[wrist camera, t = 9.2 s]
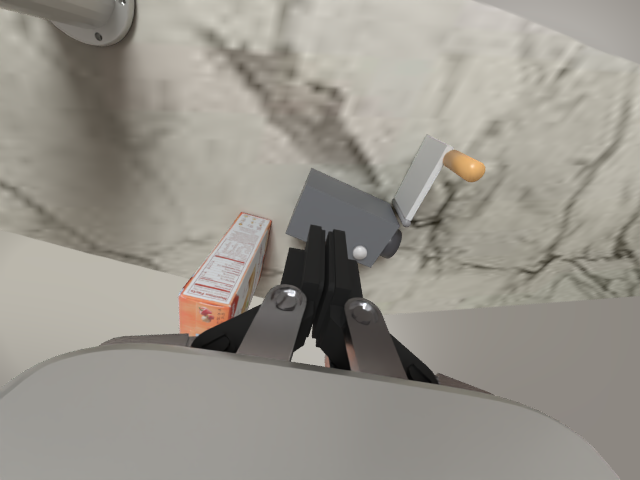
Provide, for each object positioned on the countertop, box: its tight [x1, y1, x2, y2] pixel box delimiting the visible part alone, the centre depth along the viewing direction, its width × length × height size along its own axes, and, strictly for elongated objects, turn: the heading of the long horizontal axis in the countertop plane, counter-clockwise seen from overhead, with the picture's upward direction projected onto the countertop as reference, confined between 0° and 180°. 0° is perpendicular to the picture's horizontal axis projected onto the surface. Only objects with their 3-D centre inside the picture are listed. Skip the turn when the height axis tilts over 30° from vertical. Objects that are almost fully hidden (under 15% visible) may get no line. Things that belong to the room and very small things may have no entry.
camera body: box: [286, 168, 402, 268], centre depth 38 cm, size 17×8×9 cm, turn 66°
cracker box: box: [178, 212, 271, 337], centre depth 38 cm, size 14×6×21 cm, turn 164°
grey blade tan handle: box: [392, 135, 485, 227], centre depth 32 cm, size 11×2×13 cm, turn 162°
